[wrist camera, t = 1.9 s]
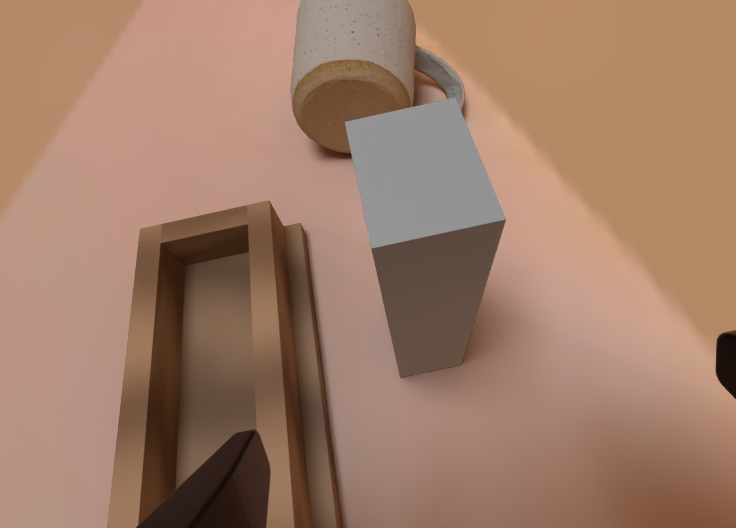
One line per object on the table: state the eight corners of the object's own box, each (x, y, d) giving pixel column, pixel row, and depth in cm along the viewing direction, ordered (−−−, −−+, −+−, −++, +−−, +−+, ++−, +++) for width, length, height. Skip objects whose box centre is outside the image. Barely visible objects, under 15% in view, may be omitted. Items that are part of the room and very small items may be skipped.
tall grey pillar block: (461, 365, 20) (505, 219, 9) (400, 377, 20) (371, 248, 9) (439, 291, 22) (455, 97, 11) (384, 302, 22) (344, 122, 11)
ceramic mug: (304, 167, 27) (267, 62, 20) (312, 82, 31) (283, -30, 24) (468, 156, 26) (486, 42, 19) (456, 69, 30) (468, -51, 23)
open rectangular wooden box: (360, 684, 15) (344, 735, 12) (121, 730, 15) (46, 792, 12) (305, 232, 25) (287, 196, 22) (158, 264, 25) (121, 233, 22)
